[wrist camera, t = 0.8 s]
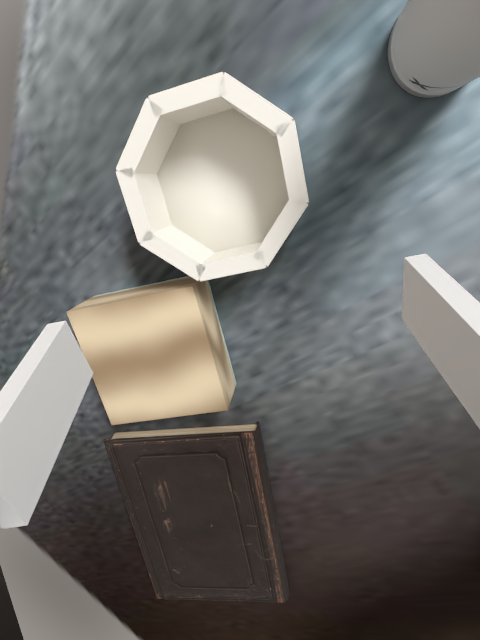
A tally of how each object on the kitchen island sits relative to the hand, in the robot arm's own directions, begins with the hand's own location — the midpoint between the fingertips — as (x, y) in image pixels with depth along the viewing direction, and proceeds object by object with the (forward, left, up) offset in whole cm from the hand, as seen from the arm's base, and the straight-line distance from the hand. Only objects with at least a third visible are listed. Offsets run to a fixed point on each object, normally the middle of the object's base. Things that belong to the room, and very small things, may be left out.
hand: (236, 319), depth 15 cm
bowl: (+5, +2, -18) cm, 19 cm away
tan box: (-7, +11, -17) cm, 22 cm away
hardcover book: (-28, +13, -19) cm, 36 cm away
